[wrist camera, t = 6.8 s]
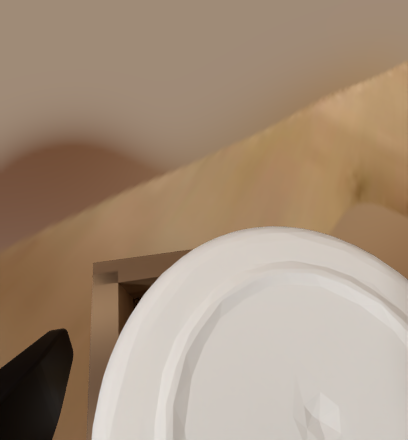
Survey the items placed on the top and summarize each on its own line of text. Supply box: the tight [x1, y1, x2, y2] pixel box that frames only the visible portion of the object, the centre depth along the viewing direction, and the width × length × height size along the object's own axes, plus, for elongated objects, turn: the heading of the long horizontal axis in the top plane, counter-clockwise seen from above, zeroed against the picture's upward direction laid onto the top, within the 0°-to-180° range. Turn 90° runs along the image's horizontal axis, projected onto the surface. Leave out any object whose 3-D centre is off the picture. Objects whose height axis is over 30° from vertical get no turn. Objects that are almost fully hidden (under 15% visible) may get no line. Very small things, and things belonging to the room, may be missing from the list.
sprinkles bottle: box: [92, 226, 408, 440], centre depth 8 cm, size 5×5×14 cm
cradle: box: [87, 249, 193, 440], centre depth 13 cm, size 10×10×4 cm
